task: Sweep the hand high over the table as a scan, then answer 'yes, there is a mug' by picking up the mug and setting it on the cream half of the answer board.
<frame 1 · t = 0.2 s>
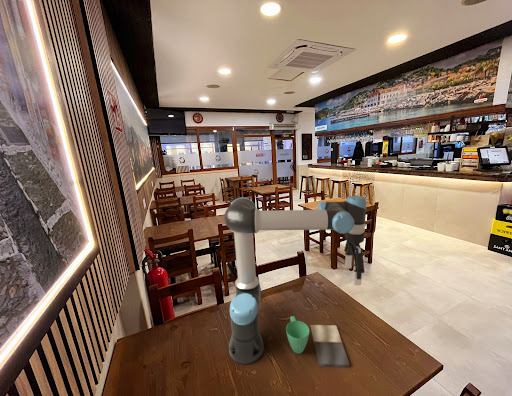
hand: (352, 275, 100), 28 cm above the table, fingers open, 13 cm apart
answer board: (328, 345, 97), on the table
mug: (296, 344, 99), on the table
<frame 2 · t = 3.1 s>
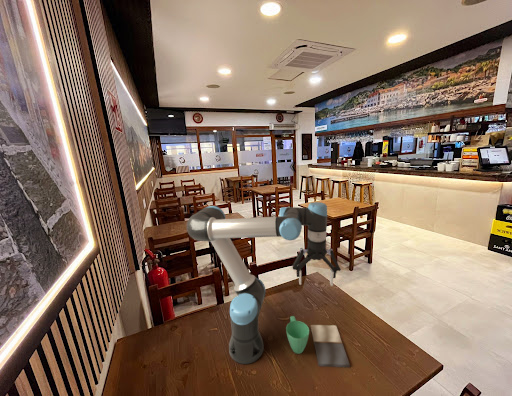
hand: (315, 283, 98), 26 cm above the table, fingers open, 13 cm apart
nothing on the table moved.
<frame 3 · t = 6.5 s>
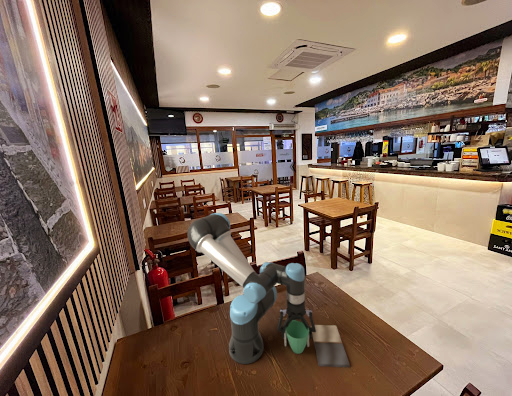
hand: (296, 343, 99), 0 cm above the table, fingers open, 9 cm apart
mug: (296, 344, 99), on the table, touching gripper
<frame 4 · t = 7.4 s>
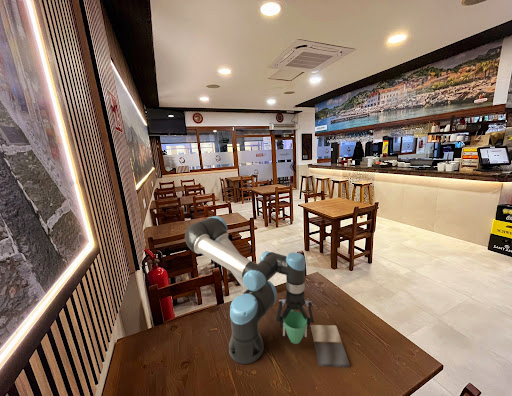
hand: (294, 333, 98), 5 cm above the table, fingers closed on mug, 9 cm apart
mug: (293, 334, 98), point 4 cm above the table, touching gripper
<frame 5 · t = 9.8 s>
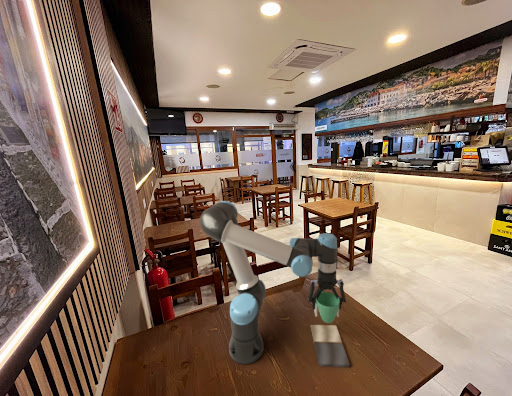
hand: (326, 314, 100), 11 cm above the table, fingers closed on mug, 9 cm apart
mug: (325, 315, 100), point 11 cm above the table, touching gripper
when the fingers open (3 cm above the table, at t = 12.1 s): mug moves 3 cm, resting on answer board.
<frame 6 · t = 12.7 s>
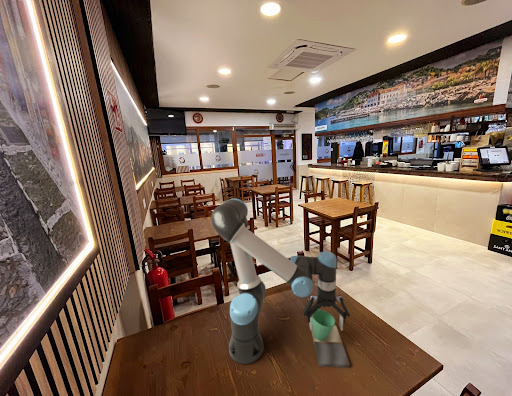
hand: (325, 328, 101), 4 cm above the table, fingers open, 13 cm apart
mug: (317, 332, 103), point 1 cm above the table, touching answer board, gripper
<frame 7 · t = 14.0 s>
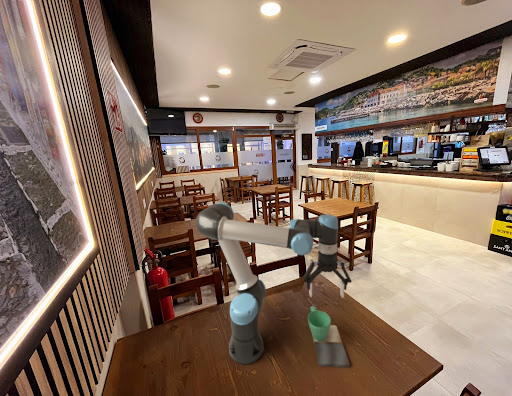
hand: (326, 295, 98), 21 cm above the table, fingers open, 13 cm apart
mug: (317, 333, 103), point 1 cm above the table, touching answer board
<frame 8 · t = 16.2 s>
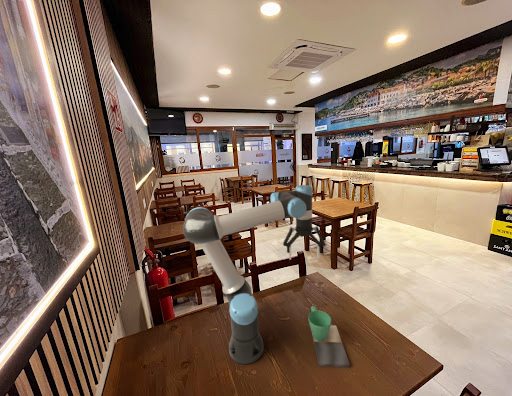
hand: (304, 258, 110), 32 cm above the table, fingers open, 13 cm apart
nothing on the table moved.
at the end: mug inside the target area on the answer board (3.7 cm from its centre), point 1.0 cm above the answer board's base; mug tilted 0°; the gripper is holding nothing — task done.
